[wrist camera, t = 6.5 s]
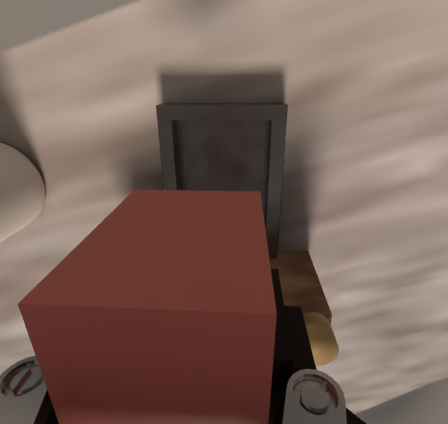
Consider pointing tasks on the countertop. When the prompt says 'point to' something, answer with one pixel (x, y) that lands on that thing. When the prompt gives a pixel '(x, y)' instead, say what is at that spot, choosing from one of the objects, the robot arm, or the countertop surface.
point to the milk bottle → (18, 191)
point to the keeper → (226, 152)
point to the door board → (307, 301)
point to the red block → (161, 314)
